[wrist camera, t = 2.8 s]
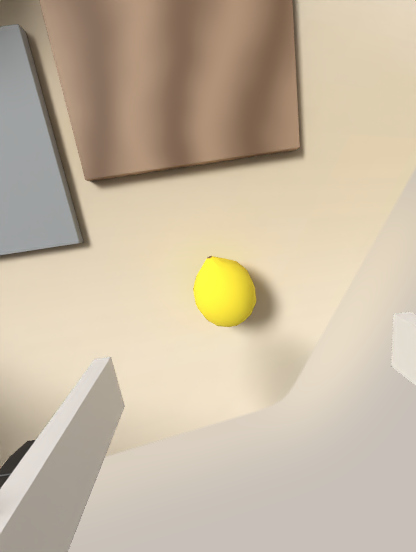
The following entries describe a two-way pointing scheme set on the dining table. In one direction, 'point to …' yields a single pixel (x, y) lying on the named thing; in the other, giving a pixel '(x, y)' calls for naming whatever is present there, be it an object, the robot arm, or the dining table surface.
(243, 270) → the lemon
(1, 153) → the slate grey mat
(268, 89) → the walnut board
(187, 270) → the dining table surface
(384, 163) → the dining table surface
